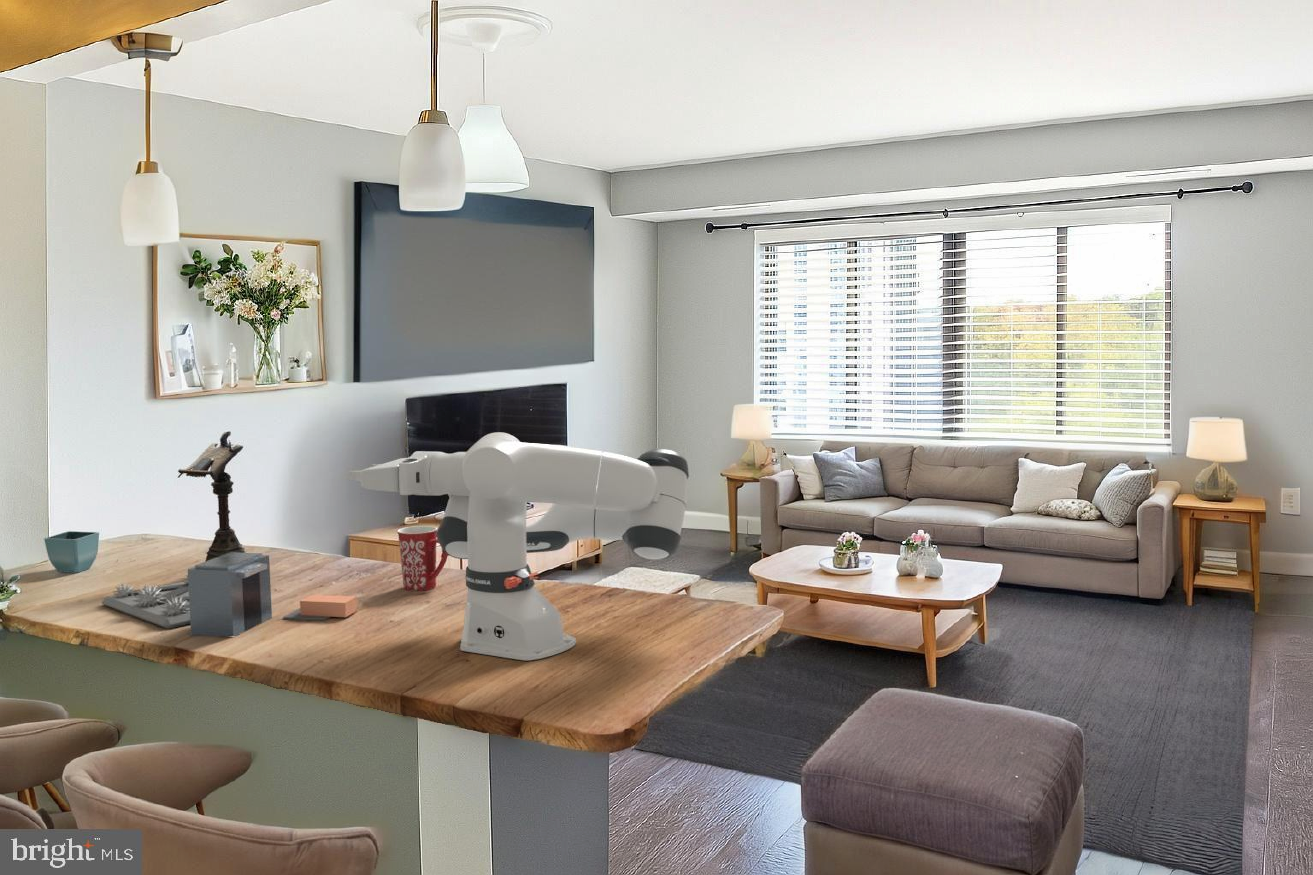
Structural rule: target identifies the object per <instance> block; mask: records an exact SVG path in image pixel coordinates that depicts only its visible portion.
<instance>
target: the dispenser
mask: <svg viewBox="0 0 1313 875" xmlns="http://www.w3.org/2000/svg"><path fill="white" fill-rule="evenodd" d="M270 568H271V567H270V555H269V554H268V555H267V554H263V553H261V552H245V553H238V552H230V553H227V554H224V555H222V556H219V557H216V558H214V559H211V560H208V561H206V562H205V561H203V562H201V563H198V564H196V565H195V566H193V567H190V568H188V569H187V576H188V577H187V578H188V588H189V606H190V624H189V625H190V636H199V637H200V636H203V637H219V636H235V637H237V636H239V635H241V634H242V632H243V633H244V631H245V632H247V631H248V630H251V629H253V628H255V627H256V625H257V626H258V625H260V624H262V623H264V622H265V621H267V620H270V619H272V618H273V612H272V611H273V610H272V609H273V608H272V590H271V569H270ZM254 626H255V627H254ZM240 633H241V634H240ZM238 634H239V635H238ZM236 635H237V636H236Z"/></svg>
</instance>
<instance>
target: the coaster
mask: <svg viewBox="0 0 1313 875" xmlns="http://www.w3.org/2000/svg"><path fill="white" fill-rule="evenodd" d="M330 618H331V617H330V616H308V615H301V614H300V608H297V609H296V610H294V611H291V612H290V613H289V614H286V615H284V616H283V617H282V619H283V620H296V621H314V622H315V621H318V622H319V621H321V622H324V621H327V620H328V619H330Z"/></svg>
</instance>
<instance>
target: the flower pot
mask: <svg viewBox="0 0 1313 875" xmlns="http://www.w3.org/2000/svg"><path fill="white" fill-rule="evenodd" d="M99 540H100V532H99V531H72V530H71V531H70V530H69V531H65V532H62V533H58V534H55V535H51V536H47V537H45V538H44V539H43V541H44V545H45V549H46V554H47V556H48V560H49V562H50V563H51V565H52V566H53V568H55V570H56V571H57V572H58V573H71V574H72V573H73V574H77V573H80V572H82V571H85V570H88V569H91V567H92V566H93V564H94V562H95V561H96V559H97V556H98V552H99V542H100V541H99Z"/></svg>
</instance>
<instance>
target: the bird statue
mask: <svg viewBox="0 0 1313 875" xmlns="http://www.w3.org/2000/svg"><path fill="white" fill-rule="evenodd" d="M231 435H232V432H231V431H226V432H225V431H224V432H223V433H222V434H221V435H220V438H219V442H220V443H216V442H214V443H210V445H208V447H207V448H206V449H205V450H204V451H203V452H202V453H201V454H200V455H199V457H198V458H196V460H195V461H193V462H192V463H191V464H190V465H189V466H187V468H185V469H184V468H183V469H178V470H177V472H178V474H179V475H177V478H180V477H181V476H183V474H185V475H186V477H193V478H206V477H207V476H208V475H209V476H210V478H212V480H213V481H212V482H211V483H210V486H211V487H212V488H213V489H212V493H213V494H214V495H216V497H217V502H218V503H217V504H218V505H217V506H218V508H217V509H218V511H217V512H216V514H217V515H218V521H219V522H218V523H219V524H218V526H219V528H218V529H217V530H216V531H215V532H214V538H213V540H212V543H211V545H210V546H209V548H208V550H207V552H206V558H205V560H204V562H206V561H208V560H211V559H214V558H216V557H219V556H222V555H224V554H227V553H230V552H238V553H246V551H245V548H244V547H242V546H243V544H242V543H241V542H240V541H239V538H238V537H237V534H236V533H235V531H236V530H234V528H231V527H232V526H230V518H229V517H230V515H229V514H230V513H231V510H230V509H229V496H230V494H232V493H233V485H234V481H233V480H231V478H232V477H231V475H230V474H229V473H228V472H225V470H226V466H227V465H228V464H229V462H230V461H231V460H233V458H235V457H236V456H237V455H238V453H240V452H241V451H242V450H243V448H244V445H242V444H236V445H235V444H234V443H232V442H231V440H228V438H229V437H230V436H231ZM219 444H220V445H219ZM218 445H219V446H218Z"/></svg>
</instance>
